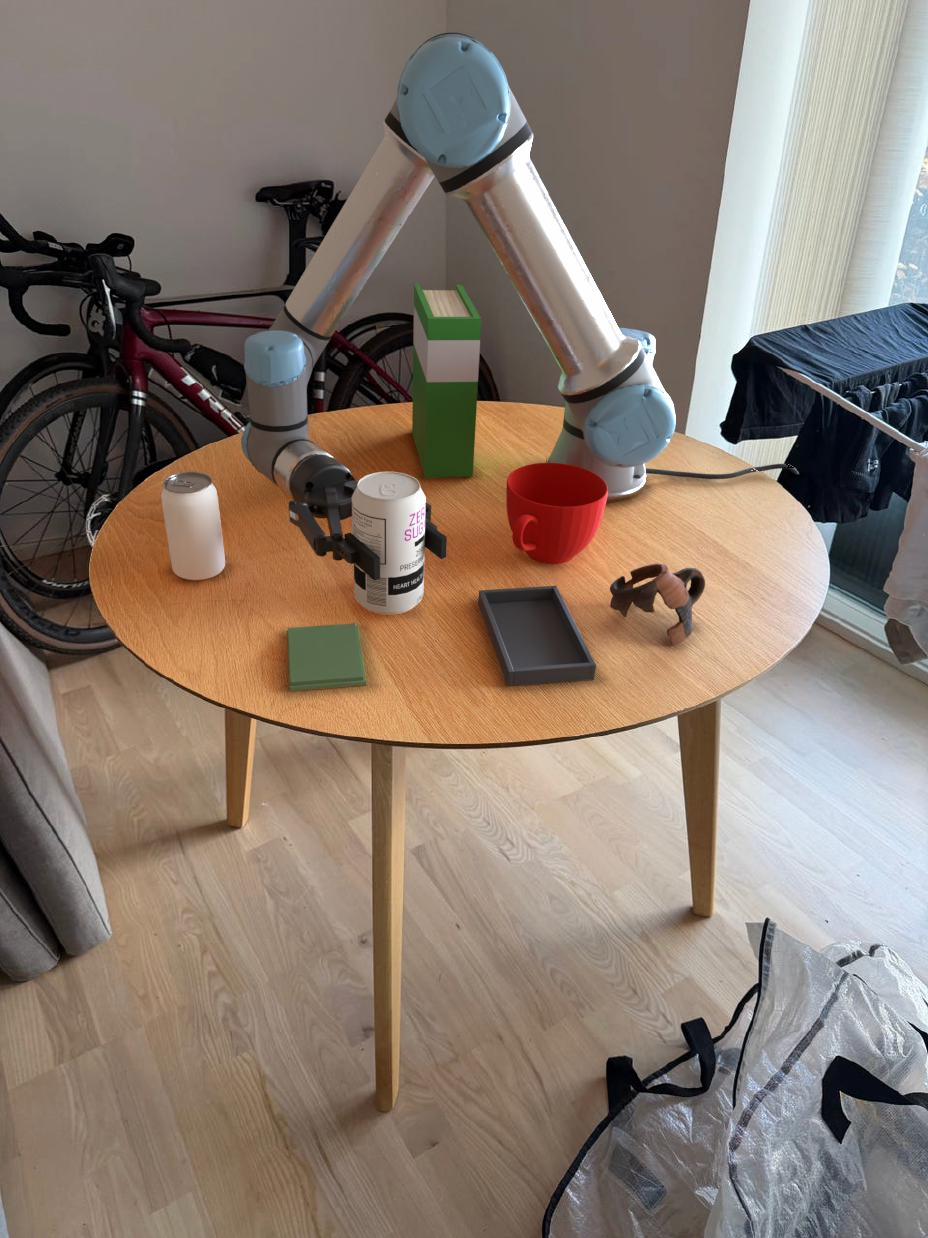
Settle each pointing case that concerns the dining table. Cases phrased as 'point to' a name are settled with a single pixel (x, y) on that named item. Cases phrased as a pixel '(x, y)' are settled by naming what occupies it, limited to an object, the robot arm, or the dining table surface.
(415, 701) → the dining table surface
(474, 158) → the robot arm
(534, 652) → the pan
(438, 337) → the hardback book
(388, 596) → the supplement can
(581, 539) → the ceramic cup
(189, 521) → the can
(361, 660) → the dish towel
